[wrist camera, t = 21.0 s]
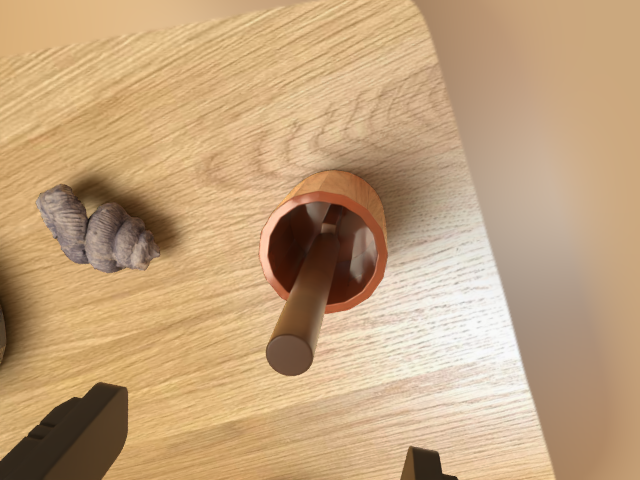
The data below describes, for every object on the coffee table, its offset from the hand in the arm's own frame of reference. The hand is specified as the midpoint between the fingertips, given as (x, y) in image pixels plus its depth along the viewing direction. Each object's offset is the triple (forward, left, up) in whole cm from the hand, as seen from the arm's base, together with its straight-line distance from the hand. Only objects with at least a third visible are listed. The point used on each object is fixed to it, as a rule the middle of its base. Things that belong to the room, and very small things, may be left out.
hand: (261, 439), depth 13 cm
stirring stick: (0, 0, -22) cm, 22 cm away
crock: (0, 0, -23) cm, 23 cm away
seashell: (+3, -17, -23) cm, 29 cm away
